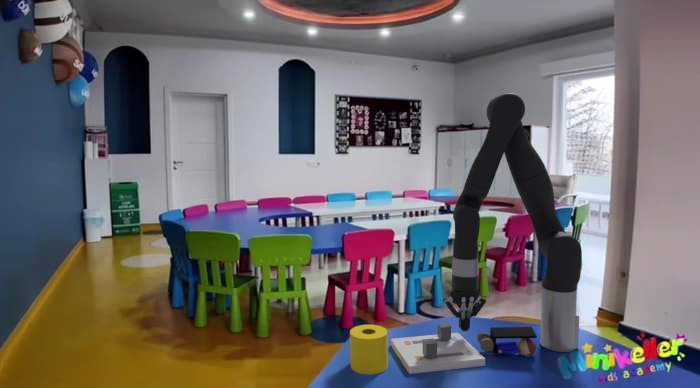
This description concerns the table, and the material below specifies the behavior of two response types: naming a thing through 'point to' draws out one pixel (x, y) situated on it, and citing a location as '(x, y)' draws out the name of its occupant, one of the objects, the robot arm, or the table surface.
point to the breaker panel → (448, 354)
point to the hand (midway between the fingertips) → (464, 330)
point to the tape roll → (369, 349)
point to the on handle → (429, 348)
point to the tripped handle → (444, 331)
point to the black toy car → (522, 347)
